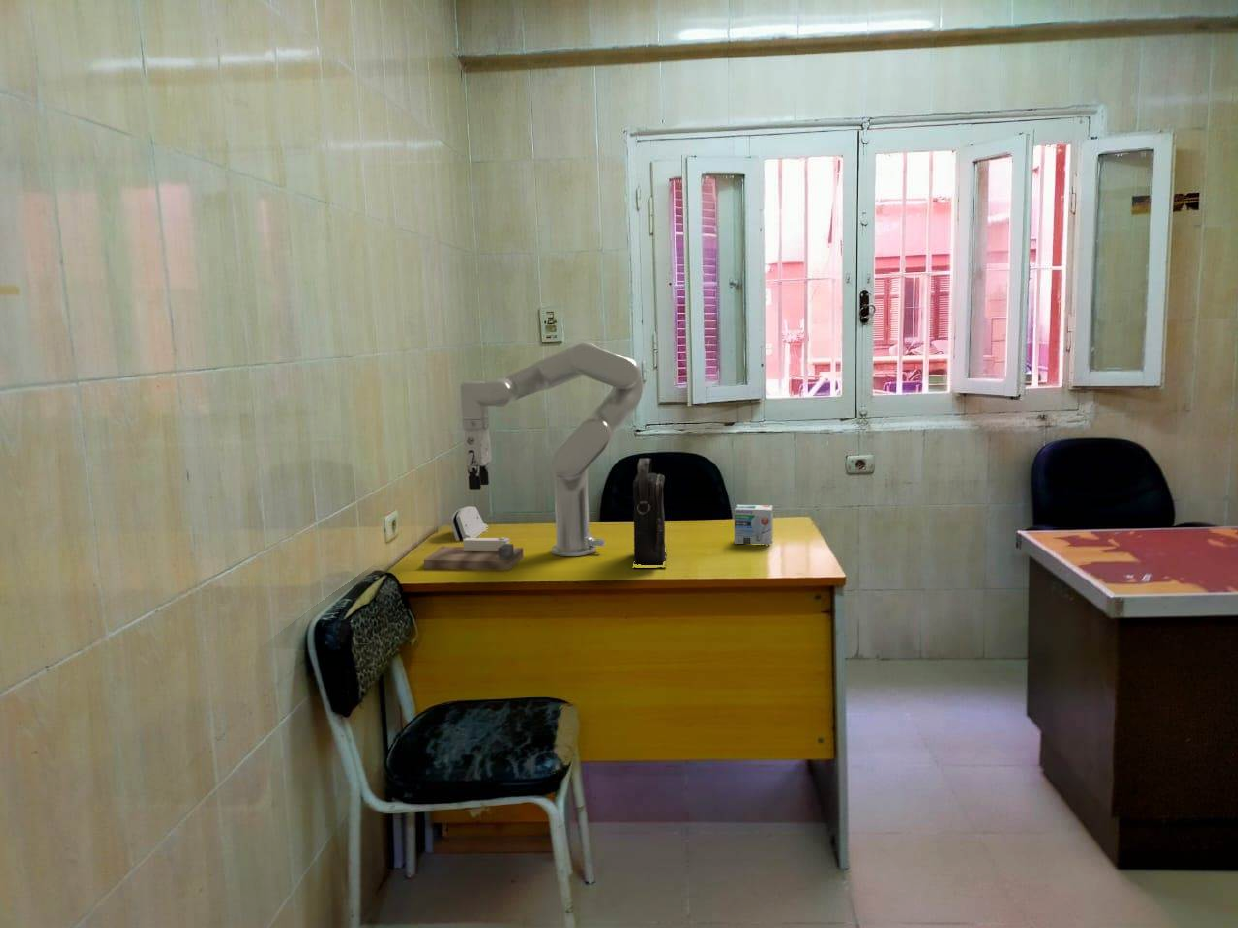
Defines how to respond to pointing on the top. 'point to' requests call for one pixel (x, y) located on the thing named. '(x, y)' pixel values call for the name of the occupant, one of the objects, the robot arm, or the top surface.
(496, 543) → the folding leg
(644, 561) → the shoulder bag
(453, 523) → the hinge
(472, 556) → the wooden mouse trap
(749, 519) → the light bulb box
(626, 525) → the top surface
